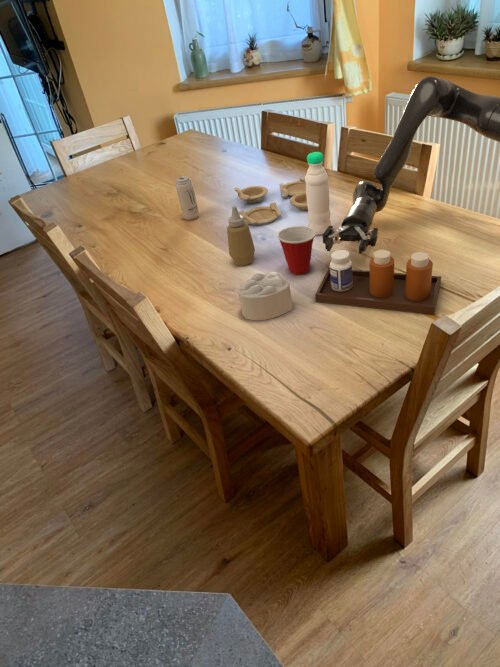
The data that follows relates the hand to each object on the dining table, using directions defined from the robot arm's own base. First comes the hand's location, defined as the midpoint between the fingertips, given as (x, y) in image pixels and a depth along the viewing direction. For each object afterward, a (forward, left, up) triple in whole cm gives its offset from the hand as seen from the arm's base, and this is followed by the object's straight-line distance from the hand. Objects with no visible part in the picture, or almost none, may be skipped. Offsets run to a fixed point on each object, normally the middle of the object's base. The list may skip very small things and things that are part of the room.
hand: (343, 249), depth 130 cm
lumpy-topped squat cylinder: (+18, +15, -10) cm, 26 cm away
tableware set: (+37, -48, -10) cm, 61 cm away
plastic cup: (+15, -5, -10) cm, 18 cm away
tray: (-9, +3, -10) cm, 14 cm away
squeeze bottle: (+34, -7, -10) cm, 36 cm away
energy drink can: (+67, -34, -10) cm, 75 cm away
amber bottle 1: (-10, +3, -9) cm, 15 cm away
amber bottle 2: (-19, +3, -9) cm, 22 cm away
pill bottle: (0, +3, -10) cm, 10 cm away
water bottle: (+16, -29, -10) cm, 34 cm away
